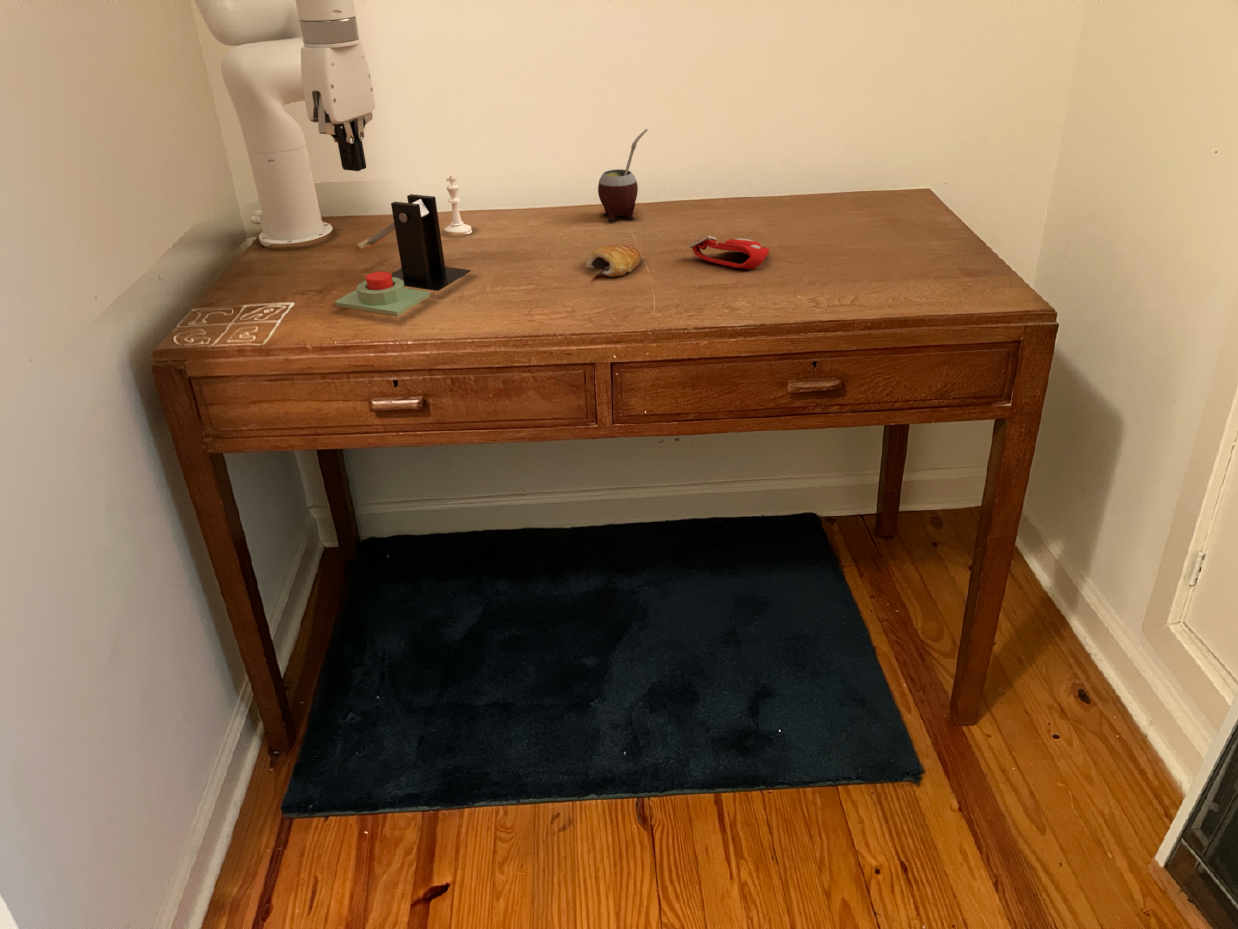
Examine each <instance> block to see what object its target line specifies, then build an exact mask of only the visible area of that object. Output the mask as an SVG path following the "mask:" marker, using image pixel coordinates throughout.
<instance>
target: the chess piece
mask: <svg viewBox="0 0 1238 929" xmlns="http://www.w3.org/2000/svg"><path fill="white" fill-rule="evenodd" d="M457 180H458V179H457V178H456V177H454V175H453V174H449V177H447V178H446V182H449V183H450V184H449V185H446V190H447V192H448V194H449V197H450V198H448V200H447V202H448V203H450V204H451V222H450V225H447V226H445V228H444V229H443V231H444V232H448V233H457V234H465V235H471V234H472V232H473V229H472V226H471V225H469V224H467V223H464V221H462V217H461V212H460V210H459V205H458V203H460V202H461V199H460V198H459V197H458V192H459V185H457V184H455V183H457Z"/></svg>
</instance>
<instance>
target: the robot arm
mask: <svg viewBox="0 0 1238 929" xmlns="http://www.w3.org/2000/svg"><path fill="white" fill-rule="evenodd" d="M194 2H195V4H196V7H197V9H198V10H199V13H200V14H201V16H202V18H203V21H204V23H205V24H206V27H207V29H208V30H209V32H210V33H211V35H212V37H213V38H214V39H215V40H216V41H217V42H219V43H220V44H222V45H224V46H230V47H232V48H230V49H228V50H227V51H226V52H225V53H224V55H223V57H222V59H221V62H220V72H221V76H222V79H223V82H224V85H225V88H226V90H227V92H228V95H229V97H230V99H231V102H232V105H233V108H234V109H235V112H236V115H237V119H238V121H239V125H240V129H241V132H242V135H243V136H242V137H243V140H244V143H245V148H246V152H247V155H248V159H249V164H250V167H251V171H252V176H253V181H254V184H255V189H256V193H257V196H258V197H257V198H258V200H259V205H260V209H256V210H255V211H254V215H252V216H251V217H250V222H251V223H252V224H253V225H260V226H261V230H262V231H261V232H260V233H259V234H258V241H259V243H260V244H261V245H262V246H264V247H269V246H272V245H273V244H275V245H288V244H289V245H290V244H299V243H305V242H310V241H314V240H317V239H320V238H322V237H324V236H327V235H329V233H331V232H332V231H333V226H332V224H330V223H328V222H326V221H323V220H322V215H321V210H320V209H321V208H320V206H319V205H320V204H319V200H318V195H317V191H316V186H315V182H314V176H313V171H312V167H311V162H310V157H309V153H308V147H307V143H306V138H305V135H304V132H303V129H302V128H301V126H300V124H299V123H298V122H297V121H296V120H295V119H294V118H293V117H292V116H291V115H289V113H288V112H287V111H286V110H285V109H284V108H283V107H284V106H285V105H290V104H292V103H293V104H294V103H297V102H305V108H306V109H305V110H306V114H307V118H308V120H309V121H310V122H311V123H315V124H316V123H317V126H318V133H319V134H321V135H326V136H327V135H329V136H331V137H332V140H333V142H334V143H336V144H337V148H338V152H339V158H340V163H341V164H340V165H341V167H342V170H344V171H352V172H361V171H362V170H365V169H366V168H367V162H366V157H365V151H364V150H365V149H364V144H363V140H364V139H365V127H366V125H367V124H368V123H370V122H371V121H372V120H373V118H374V115H373V111H374V110H375V108H376V107H375V106H376V104H375V103H376V102H375V93H374V92H375V91H374V87H373V81H372V76H371V72H370V67H369V64H368V60H367V56H366V53H365V49H364V46H363V43H362V41H361V40H360V39H361V38H360V33H359V28H358V21H357V15H356V9H355V3H354V2H355V1H354V0H194Z"/></svg>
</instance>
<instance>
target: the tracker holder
mask: <svg viewBox="0 0 1238 929" xmlns="http://www.w3.org/2000/svg"><path fill="white" fill-rule="evenodd" d="M717 241H718V238H717V237H715V236H711V235H706V236H705V237H703V238H700V239H697V240H695V241H694V242H692V243H691V244H689V245H688V248H690V249H692V251H693V254H694V255H695V256H697V258H699V259H702V260H704V261H706V262H710V263H712V264H717V265H722V266H726V267H731V268H736V269H744V270H745V269H747V270H752V269H756V268H758V267H759V266H760V265H761V264H763V262H764V261H765V259H766V257H767V256H768V255H769V254H770V248H769V247H763V246H762V245H761V243H759V242H758V241H755V240H752V239H748V238H729V239H727V240H726V241H725V242H718V243H717ZM707 248H711V249H716V250H721V251H728V252H729V251H730V252H739V253H743V254H745V255H747V256H748V258H747V259H746V260H745V261H744V262H742V263H738V262H733V261H728V260H724V259H718V258H714V257H711V256H708V255H706V254H704V253H703V252H702V251H704V250H706V249H707ZM701 250H702V251H701Z"/></svg>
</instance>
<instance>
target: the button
mask: <svg viewBox="0 0 1238 929" xmlns="http://www.w3.org/2000/svg"><path fill="white" fill-rule="evenodd" d="M391 274H392V273H391V272H390V271H374V272H371V273H368V274H366V276H365V281H366V282H367V287H368V290H384V289H388V288H391V287H393V281H392V275H391Z"/></svg>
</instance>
